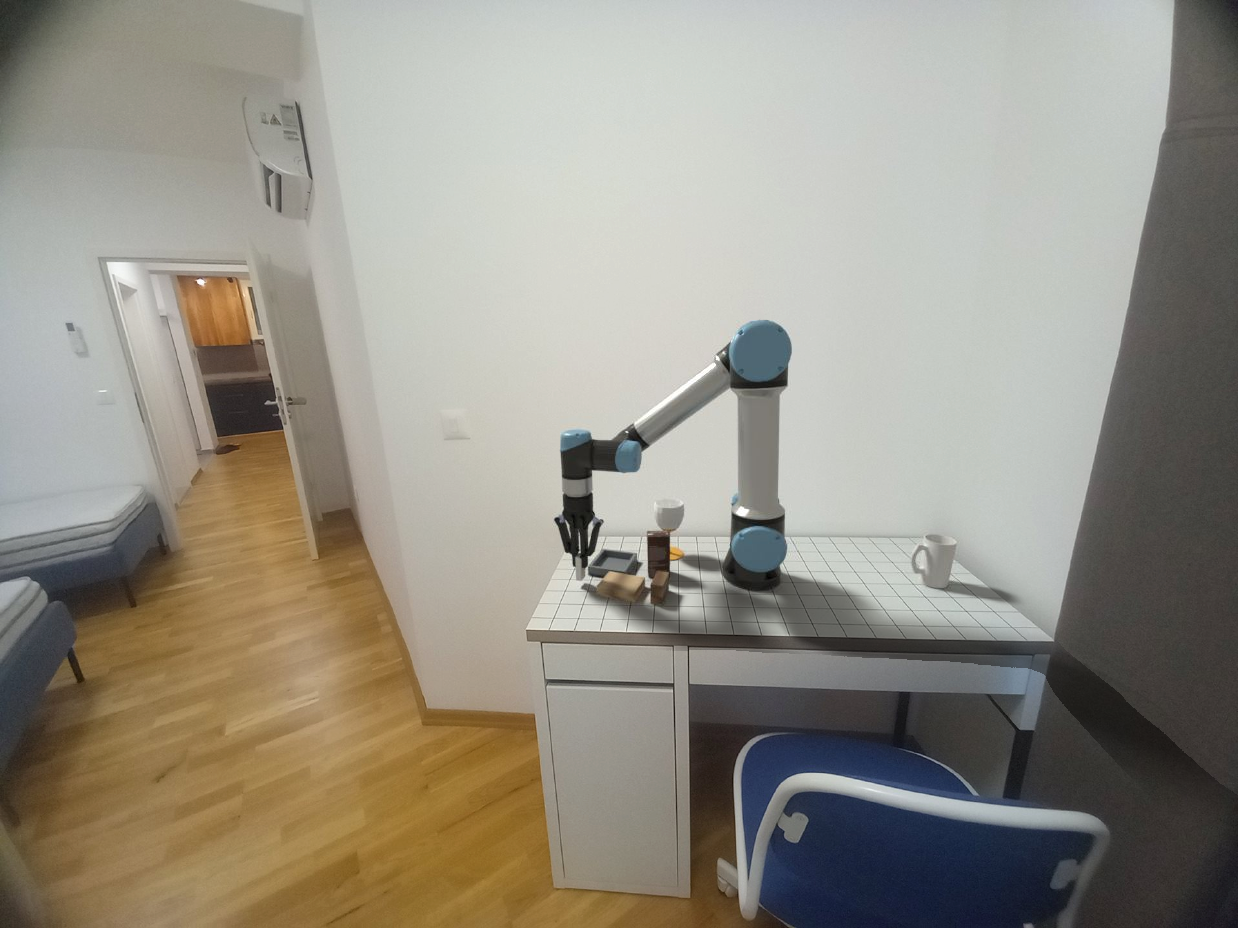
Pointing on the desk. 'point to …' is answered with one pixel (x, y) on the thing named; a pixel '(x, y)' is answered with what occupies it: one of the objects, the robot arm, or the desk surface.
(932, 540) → the mug
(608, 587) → the light brown wooden block
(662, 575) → the brown rectangular block
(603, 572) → the tray
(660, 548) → the box
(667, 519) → the cup
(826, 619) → the desk surface
